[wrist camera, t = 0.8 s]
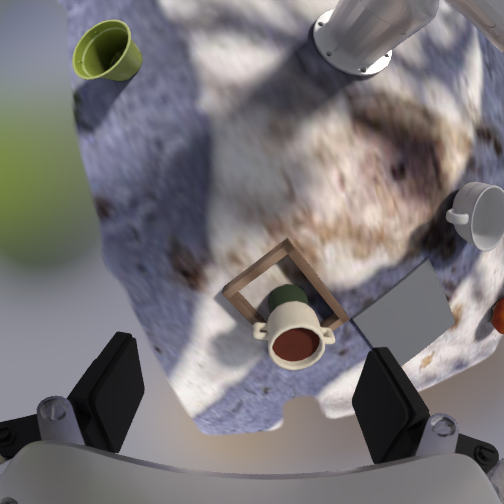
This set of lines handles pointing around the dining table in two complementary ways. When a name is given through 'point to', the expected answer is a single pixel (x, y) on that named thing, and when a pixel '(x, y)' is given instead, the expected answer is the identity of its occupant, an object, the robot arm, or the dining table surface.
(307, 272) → the collar
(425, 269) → the rubber mat
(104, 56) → the plant pot
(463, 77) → the dining table surface
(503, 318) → the fruit
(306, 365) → the character mug
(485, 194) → the teacup
